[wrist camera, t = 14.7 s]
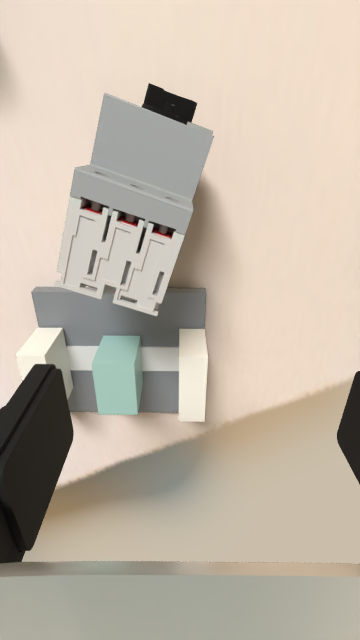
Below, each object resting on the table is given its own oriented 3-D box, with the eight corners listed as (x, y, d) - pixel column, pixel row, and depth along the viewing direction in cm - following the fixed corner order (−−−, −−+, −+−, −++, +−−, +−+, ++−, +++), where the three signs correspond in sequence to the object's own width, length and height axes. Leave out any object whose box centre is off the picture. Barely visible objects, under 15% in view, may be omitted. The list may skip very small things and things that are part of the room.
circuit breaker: (210, 120, 31) (231, 99, 18) (165, 258, 38) (155, 319, 24) (133, 89, 30) (96, 44, 17) (100, 237, 37) (53, 288, 23)
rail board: (205, 288, 39) (210, 318, 32) (200, 405, 48) (203, 449, 41) (36, 286, 39) (5, 316, 32) (60, 403, 48) (39, 447, 41)
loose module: (140, 335, 40) (134, 364, 35) (143, 383, 44) (137, 416, 38) (103, 335, 40) (91, 364, 35) (108, 383, 44) (98, 416, 38)
